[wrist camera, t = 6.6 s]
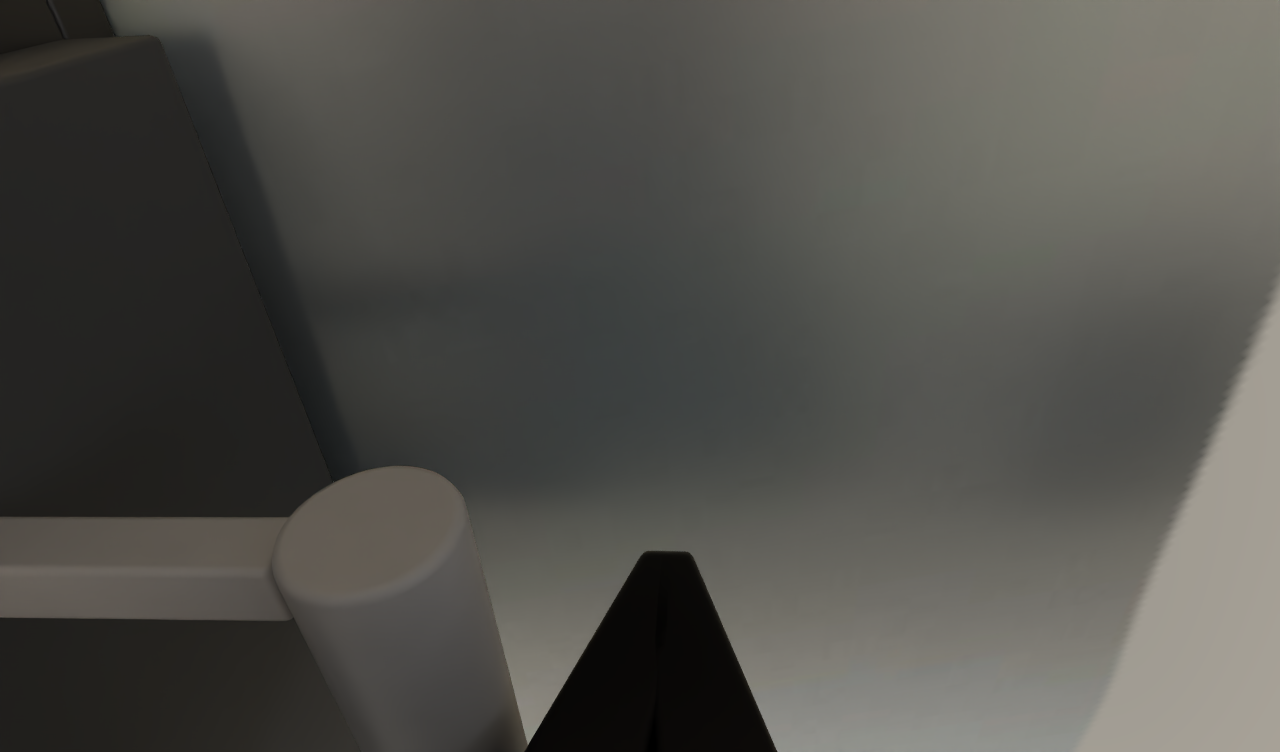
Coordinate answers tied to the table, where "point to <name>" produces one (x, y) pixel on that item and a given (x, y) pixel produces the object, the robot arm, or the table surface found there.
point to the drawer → (195, 470)
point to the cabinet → (49, 22)
